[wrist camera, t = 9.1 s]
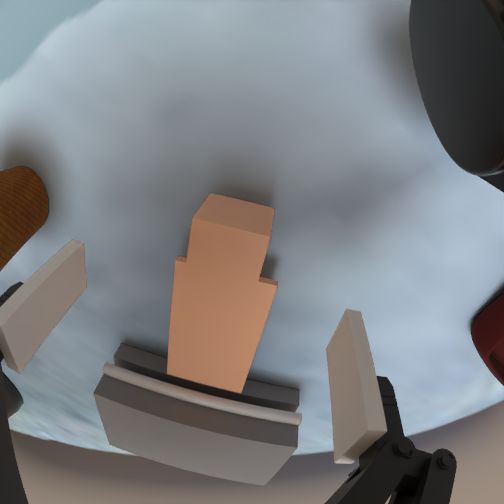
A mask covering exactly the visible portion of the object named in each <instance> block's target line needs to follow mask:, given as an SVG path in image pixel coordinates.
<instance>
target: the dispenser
mask: <svg viewBox="0 0 504 504" xmlns="http://www.w3.org/2000/svg"><path fill="white" fill-rule="evenodd" d="M167 361H168V358H165V357H162V356H158V355H155V354H152V353H149V352H146V351H143V350H140V349H137V348H134V347H131V346H128V345H125V344H122V343H121V345H120V346H119V348H118V350H117V352H116V353H115V355H114V362H115V365H113V364H110V363H108V362H106V363H105V365H104V367H103V374H104V375H103V377H102V378H101V380H100V382H99V384H98V386H97V388H96V389H95V391H94V397H95V400H96V404H97V407H98V410H99V414H100V417H101V420H102V423H103V426H104V429H105V432H106V435H107V438H108V441H109V444H110V445H112V446H115V447H117V448H120V449H123V450H125V451H128V452H131V453H134V454H136V455H139V456H142V457H145V458H148V459H151V460H154V461H158V462H161V463H164V464H167V465H171V466H175V467H178V468H182V469H185V470H189V471H193V472H197V473H201V474H205V475H209V476H214V477H219V478H223V479H228V480H234V481H239V482H244V483H250V484H257V485H263V486H265V485H266V483H267V482H268V481H269V480H270V479H271V478H272V477H273V476H274V475H275V473H276V472H277V471H278V470H279V469H280V468H281V466H282V465H283V464H284V463H285V462H286V461H287V460H288V458H289V457H290V456H291V455H292V454H293V452H294V451H295V450H296V449H297V447H298V425H300V423H301V420H302V414H301V413H295V411H296V409H297V408H298V406H299V390H298V389H293V388H287V387H282V386H277V385H272V384H267V383H262V382H257V381H253V380H248V379H246V381H245V384H244V386H243V389H242V392H241V393H238V392H233V391H229V390H225V389H221V388H217V387H213V386H209V385H205V384H201V383H198V382H194V381H190V380H187V379H183V378H180V377H176V376H173V375H170V374H167Z"/></svg>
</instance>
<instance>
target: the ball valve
mask: <svg viewBox="0 0 504 504" xmlns="http://www.w3.org/2000/svg"><path fill="white" fill-rule="evenodd" d="M409 32H410V43H411V51H412V58H413V63H414V68H415V73H416V77H417V81H418V85H419V89H420V92H421V96H422V99H423V102H424V105H425V108H426V111H427V114H428V116H429V119H430V121H431V123H432V126H433V128H434V130H435V132H436V134H437V136H438V138H439V140H440V142H441V144H442V145H443V147H444V149H445V150H446V152H447V153H448V154H449V156H450V157H451V158H452V160H453V161H454V162H455V163H456V164H457V165H458V166H459V167H460V168H462V169H463V170H465V171H466V172H468V173H470V174H473V175H476V176H478V177H480V178H482V179H483V180H485V181H487V182H488V183H490V184H491V185H493V186H495V187H496V188H498V189H499V190H501V191H502V192H504V0H411V5H410V14H409Z"/></svg>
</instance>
